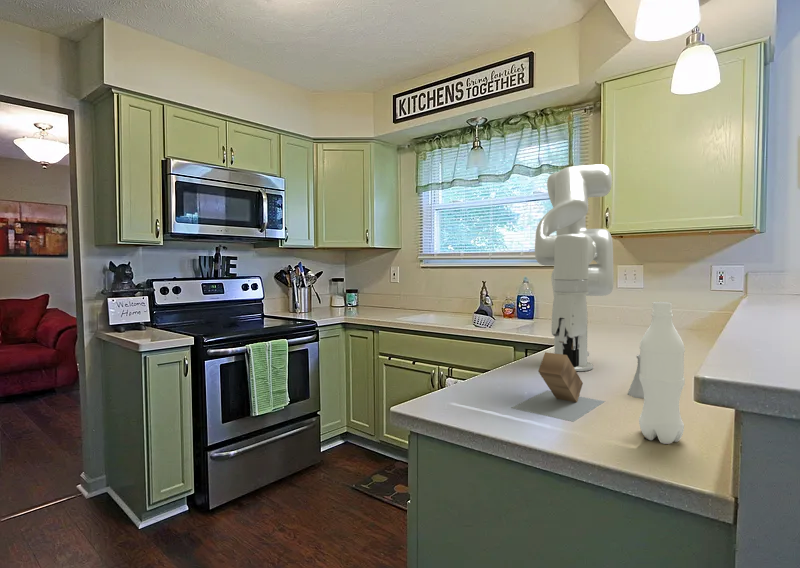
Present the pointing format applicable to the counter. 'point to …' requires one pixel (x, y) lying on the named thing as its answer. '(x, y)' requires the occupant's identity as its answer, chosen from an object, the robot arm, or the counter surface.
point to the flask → (636, 384)
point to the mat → (558, 406)
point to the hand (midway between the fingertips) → (570, 365)
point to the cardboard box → (560, 376)
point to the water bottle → (662, 377)
